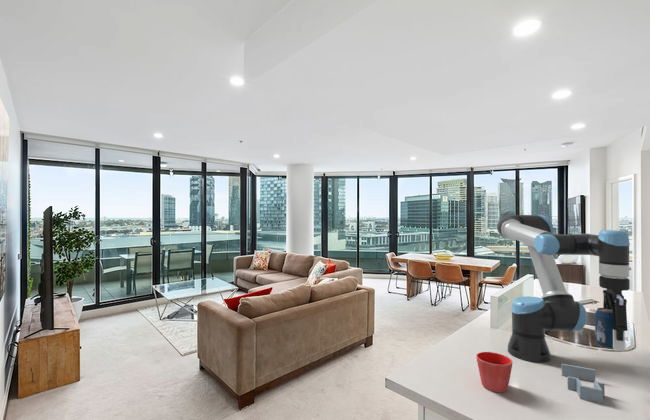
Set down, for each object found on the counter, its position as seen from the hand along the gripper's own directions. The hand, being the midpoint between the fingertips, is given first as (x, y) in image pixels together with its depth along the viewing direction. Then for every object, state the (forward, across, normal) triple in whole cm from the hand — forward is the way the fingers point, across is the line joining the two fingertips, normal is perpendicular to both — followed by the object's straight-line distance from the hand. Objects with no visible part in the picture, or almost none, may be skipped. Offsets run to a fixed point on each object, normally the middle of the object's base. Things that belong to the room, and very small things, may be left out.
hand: (614, 345), depth 106 cm
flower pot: (+15, -16, +36) cm, 42 cm away
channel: (+15, -3, +9) cm, 18 cm away
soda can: (+1, 0, +2) cm, 2 cm away
